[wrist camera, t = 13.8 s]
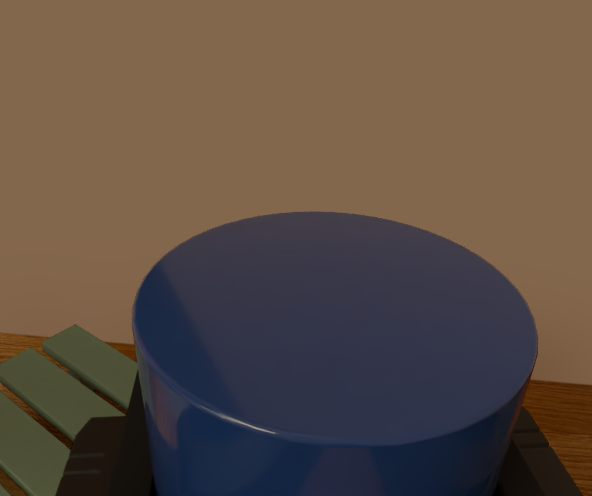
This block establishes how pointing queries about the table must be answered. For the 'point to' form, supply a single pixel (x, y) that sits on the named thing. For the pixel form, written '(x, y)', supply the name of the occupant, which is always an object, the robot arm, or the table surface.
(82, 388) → the rack
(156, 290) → the navy blue cylinder
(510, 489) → the robot arm
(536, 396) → the table surface
